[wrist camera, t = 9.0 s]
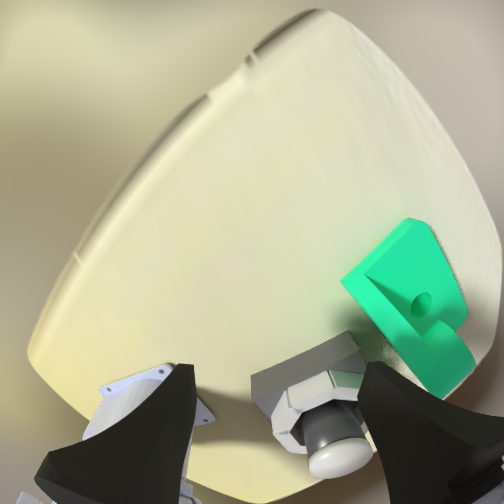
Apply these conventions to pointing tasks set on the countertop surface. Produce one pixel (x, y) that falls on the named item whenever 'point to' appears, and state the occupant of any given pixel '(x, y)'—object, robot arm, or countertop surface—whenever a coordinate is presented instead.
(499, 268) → the countertop surface
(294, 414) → the square octagon-collar plate
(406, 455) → the robot arm
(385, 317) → the camera mount
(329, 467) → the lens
